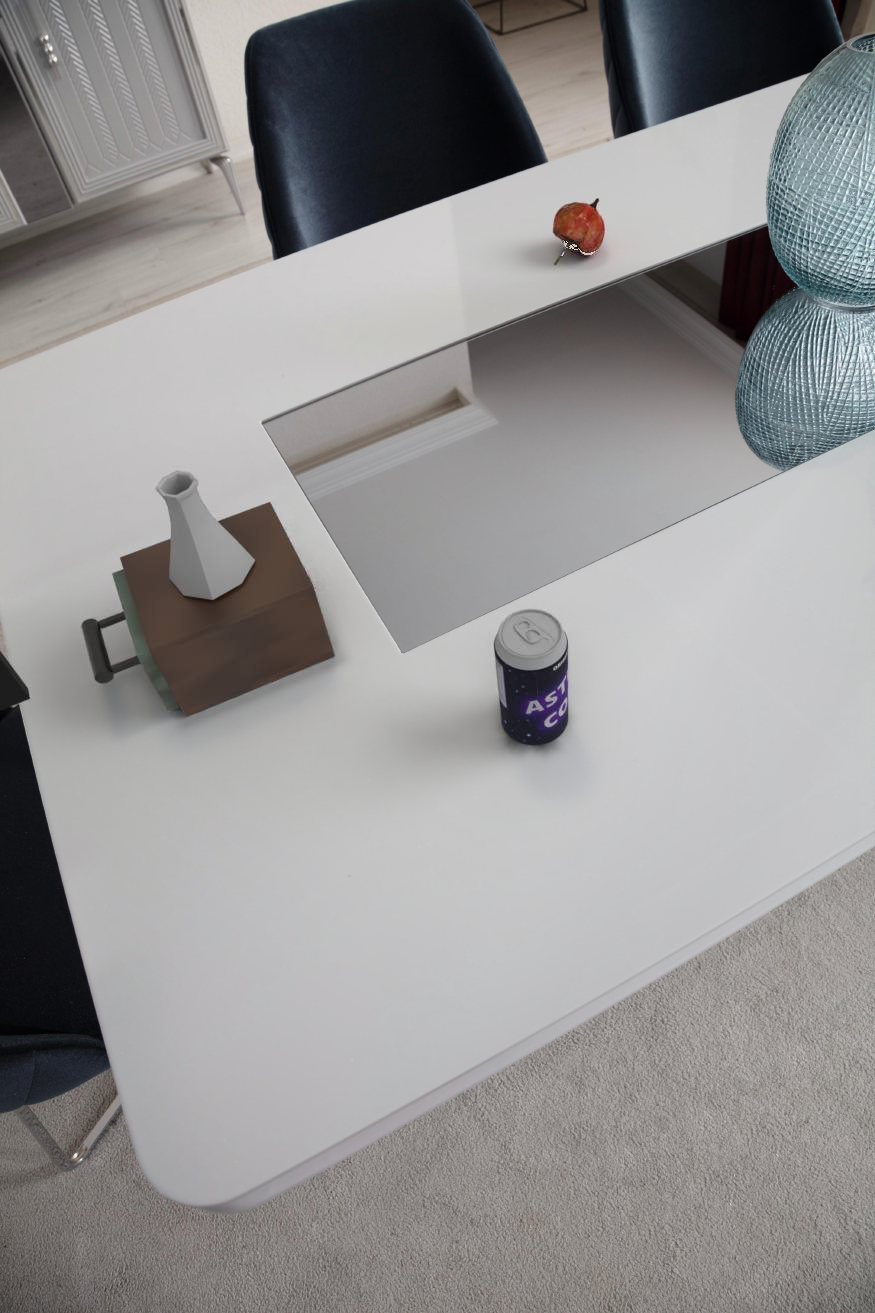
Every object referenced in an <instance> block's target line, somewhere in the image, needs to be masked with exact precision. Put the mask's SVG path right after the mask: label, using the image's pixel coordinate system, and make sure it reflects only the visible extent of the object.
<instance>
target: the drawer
mask: <svg viewBox="0 0 875 1313" xmlns="http://www.w3.org/2000/svg"><path fill="white" fill-rule="evenodd" d="M111 575H112V578H113V582H114V586H115V589H116V591H117V595H118V598H119V600H120V604H121V607H122V611H121V612H118V613H116V614H113V615H111V616H107V617H105V618H103V619H100V620H97V619H96V618H86V619H84V620H83V621H82V623H81V625H80V627H81V631H82V635H83V639H84V644H85V646H86V652H87V655H88V658H89V662H90V666H91V671H92V674H93V678H94V681H95V682H96V683H97V684H100V685H101V684H102V685H104V684H109V683H110V682H111V681H113V679H114V677H115V674H118V673H121V672H124V671H126V670H129V669H131V668H134V667H136V666H139V665H141V666H142V668H143V670H144V671H145V673H146V675H147V676H148V678H149V680H150V682H151V684H152V686H153V688H154V690H155V691H156V692H157V694H158V696H159V698H160V700H161V702H162V703H163V706H164V707H165V708H166V710H167V712H168V713H170V712H172V711H174V710H177V709H179V708H181V707H180V705H179V703H178V702H177V700H176V698H175V696H174V694H173V692H172V691H171V689H170V687H169V685H168V683H167V682H166V680H165V678H164V676H163V674H162V672H161V671H160V669H159V667H158V665H157V663H156V661H155V660H154V658H153V656H152V654H151V652H150V651H149V648H148V645H147V642H146V638H145V635H144V632H143V629H142V626H141V623H140V620H139V617H138V613H137V610H136V607H135V604H134V601H133V598H132V595H131V592H130V588H129V585H128V582H127V579H126V576H125V573H124V570H123V568H122V569H119V570H116V571H114V572H112V573H111ZM124 621H126V624H127V627H128V631H129V634H130V637H131V641H132V644H133V647H134V650H135V654H136V655H134V656H131V657H129V658H126V659H124V660H122V661H119V662H117V663H114V664H111V661H110V660H111V659H110V656H109V653H108V649H107V645H106V642H105V639H104V635H103V629H106V628H109V627H110V626H113V625H116V624H118V623H121V622H124Z"/></svg>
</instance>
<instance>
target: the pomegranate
mask: <svg viewBox="0 0 875 1313" xmlns="http://www.w3.org/2000/svg"><path fill="white" fill-rule="evenodd" d="M599 202H600V198H599V197H597V198H595V200H594V201H593V202H591V203H590V204H589V203H586V202H578V201H573V202H570V203H565V204H564V205H562V206H561V207H559V209H558V210H557V212H556V213H555V214H554V218H553V221H552V222H553V223H552V234H553V235H554V236H555V237H556V238H558V239H559V240H561V241H562V240H564V241H565V243H567V242H568V243H567V245H566V247H568V248H567V250H569V251H571V252H575V253H580V255H581V256H583V257H586V258H589V257H590V258H591V257H592V256H593V255H594V254H592V255H584V254H582V253H581V252H580V250H581V251H582V252H585V253H591V252H594V251H596V250H597V249H598V250H599V249H600V247H601V246H602V244H603V242H604V237H605V232H606V226H605V225H606V224H605V220H604V219H603V216H602V214H600V213H599V210H598V209H597V206H598V203H599ZM566 241H567V242H566ZM572 244H575V245H577V247H574V246H573V245H572ZM570 245H572V246H573V247H574V249H578V248H579V249H580V250H579V249H578V250H574V249H572V248H571V249H569V248H570V247H569V246H570ZM566 247H565V246H564V248H566ZM598 250H597V251H598ZM597 251H596V252H597ZM563 257H564V256H560V255H559V256H558V257H557V259H556V260H555V261H554V263H553V266H556V265H557V264H558V263H559V262H560V260H561V258H563Z"/></svg>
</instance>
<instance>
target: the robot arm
mask: <svg viewBox="0 0 875 1313" xmlns="http://www.w3.org/2000/svg"><path fill="white" fill-rule="evenodd" d="M29 700H31V696H30V690H29V687H28V686H27V685H26V683H25V681H23V679H22V678H21V676H20V675H19V674H18V672H17V671H16V670H15V669H14V667H13V666H12V665H11V662H9V660H8V659H7V657H6V656H5V655H4V654H3V652H2V651H1V650H0V711H3V710H5V709H8V708H11V707H14V706H16V705H18V704H21V703H23V702H25V701H29Z"/></svg>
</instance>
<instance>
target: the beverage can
mask: <svg viewBox="0 0 875 1313" xmlns="http://www.w3.org/2000/svg"><path fill="white" fill-rule="evenodd" d="M493 651H494V661H495V672H496V682H497V691H498V702H499V703H498V704H499V711H500V712H499V713H500V721H501V726H502V729H503V730H504V732H505V733H506V734H507V736H509V737H510V738H511V739H512V740H514V741H515V742H517V743H519V744H522V745H528V746H542V745H546V744H549V743H551V742H553V741H555V740H557V739H558V738H560V737H561V736H562V734H564V732H565V730H566V728H567V726H568V723H569V638H568V635H567V633H566V631H565V630H564V629H563V626H562V624H561V622H560V621H559V620H558V618H557V617H556V616H555V615H553V614H552V613H550V612H548V611H546V610H542V609H539V608H525V609H520V610H517V611H515V612H512V613H511V614H509V615H507V616H506V617H505V618H504V619H503V620H502V622H501V623H500V625H499V627H498V630H497V633H496V635H495V637H494V640H493Z"/></svg>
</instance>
